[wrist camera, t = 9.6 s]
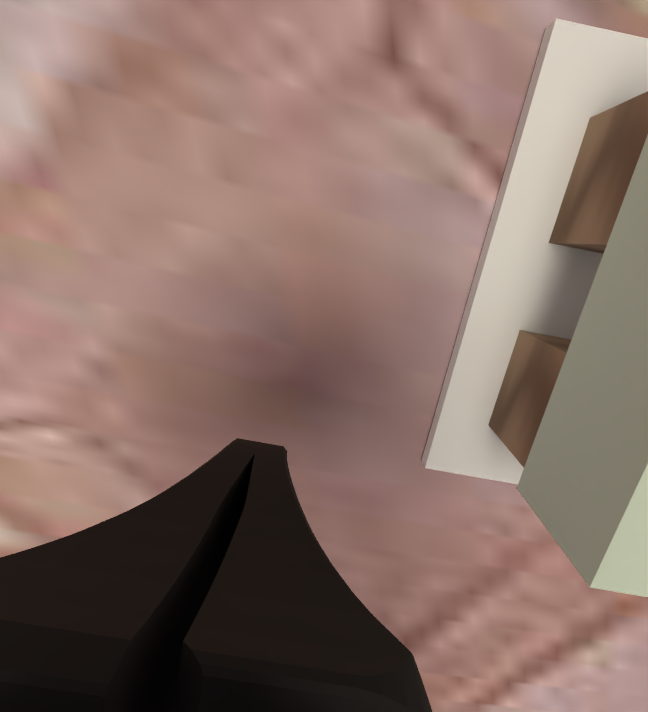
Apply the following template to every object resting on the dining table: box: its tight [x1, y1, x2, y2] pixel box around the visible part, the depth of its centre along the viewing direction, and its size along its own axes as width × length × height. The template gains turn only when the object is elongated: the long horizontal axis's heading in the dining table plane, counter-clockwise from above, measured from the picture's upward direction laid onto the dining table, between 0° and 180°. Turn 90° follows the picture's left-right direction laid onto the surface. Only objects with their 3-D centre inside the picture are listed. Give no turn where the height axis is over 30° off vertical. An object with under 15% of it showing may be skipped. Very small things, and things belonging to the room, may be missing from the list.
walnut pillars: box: [488, 91, 648, 467], centre depth 17 cm, size 14×5×4 cm, turn 169°
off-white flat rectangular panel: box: [422, 19, 648, 484], centre depth 19 cm, size 20×10×1 cm, turn 169°
